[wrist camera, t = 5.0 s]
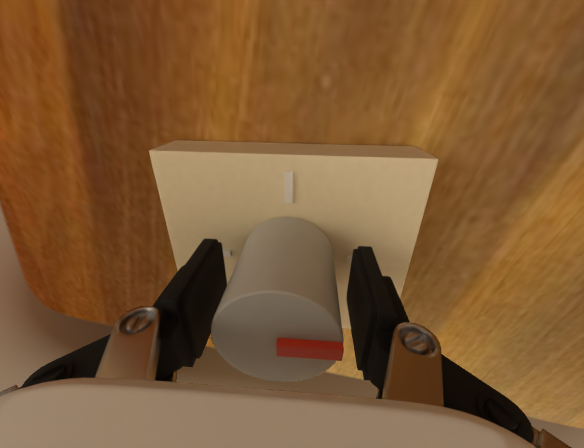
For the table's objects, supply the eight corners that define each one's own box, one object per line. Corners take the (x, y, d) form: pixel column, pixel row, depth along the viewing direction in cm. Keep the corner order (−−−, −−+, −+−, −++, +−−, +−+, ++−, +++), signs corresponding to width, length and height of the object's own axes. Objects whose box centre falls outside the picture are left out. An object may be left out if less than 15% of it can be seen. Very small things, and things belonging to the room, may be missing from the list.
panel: (204, 290, 18) (187, 320, 16) (175, 139, 13) (146, 151, 11) (381, 300, 17) (391, 334, 15) (416, 146, 13) (441, 159, 10)
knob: (247, 287, 14) (215, 386, 9) (241, 214, 12) (196, 294, 7) (329, 291, 14) (337, 396, 9) (336, 218, 12) (353, 304, 7)
